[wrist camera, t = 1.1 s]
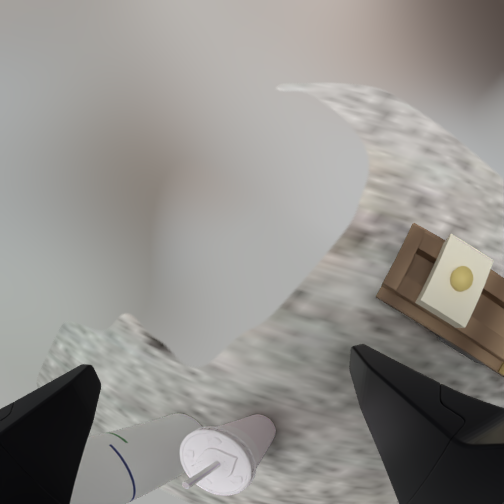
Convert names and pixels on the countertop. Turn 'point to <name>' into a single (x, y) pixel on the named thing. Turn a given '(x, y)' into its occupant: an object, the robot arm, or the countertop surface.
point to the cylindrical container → (131, 460)
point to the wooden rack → (461, 339)
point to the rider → (455, 282)
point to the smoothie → (226, 454)
